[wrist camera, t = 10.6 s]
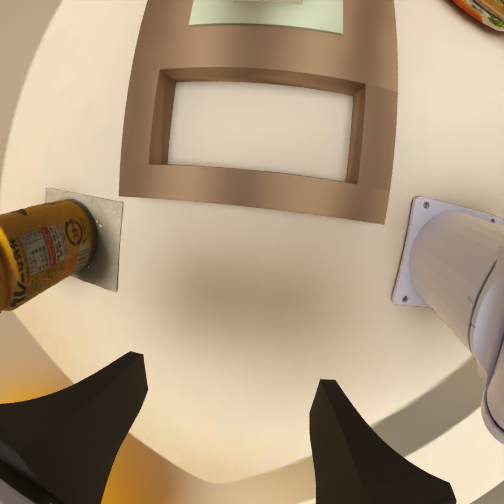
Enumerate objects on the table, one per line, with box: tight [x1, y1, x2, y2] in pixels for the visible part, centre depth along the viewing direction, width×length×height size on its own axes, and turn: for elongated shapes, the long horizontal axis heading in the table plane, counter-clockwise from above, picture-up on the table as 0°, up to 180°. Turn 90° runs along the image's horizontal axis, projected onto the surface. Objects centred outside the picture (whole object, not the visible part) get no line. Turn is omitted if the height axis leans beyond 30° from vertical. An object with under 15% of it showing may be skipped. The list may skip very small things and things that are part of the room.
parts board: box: [119, 0, 398, 225], centre depth 15 cm, size 16×20×3 cm
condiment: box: [0, 188, 123, 313], centre depth 15 cm, size 7×8×12 cm
